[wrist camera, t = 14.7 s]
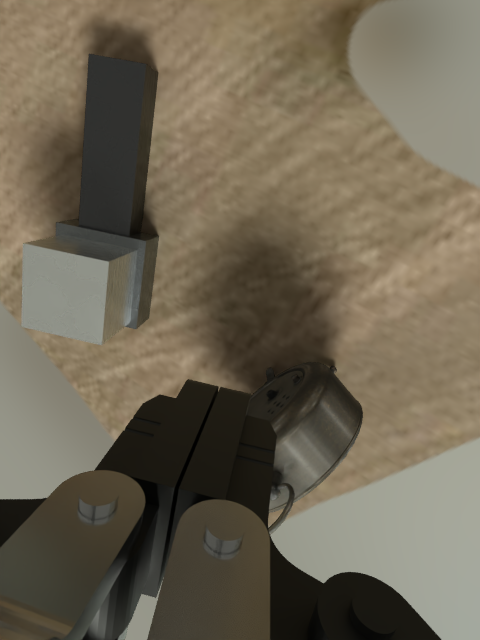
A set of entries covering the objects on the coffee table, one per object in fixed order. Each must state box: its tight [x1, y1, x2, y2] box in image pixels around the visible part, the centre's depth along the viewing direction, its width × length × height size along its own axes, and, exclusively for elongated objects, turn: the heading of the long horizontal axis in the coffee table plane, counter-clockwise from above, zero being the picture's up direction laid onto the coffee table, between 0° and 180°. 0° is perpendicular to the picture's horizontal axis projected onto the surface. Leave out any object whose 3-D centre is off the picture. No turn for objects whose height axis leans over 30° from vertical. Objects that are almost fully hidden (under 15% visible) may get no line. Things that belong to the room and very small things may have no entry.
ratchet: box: [56, 54, 159, 329], centre depth 31 cm, size 18×7×6 cm, turn 170°
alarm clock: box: [247, 362, 363, 535], centre depth 29 cm, size 11×5×16 cm, turn 132°
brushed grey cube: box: [22, 234, 138, 345], centre depth 31 cm, size 6×6×5 cm
